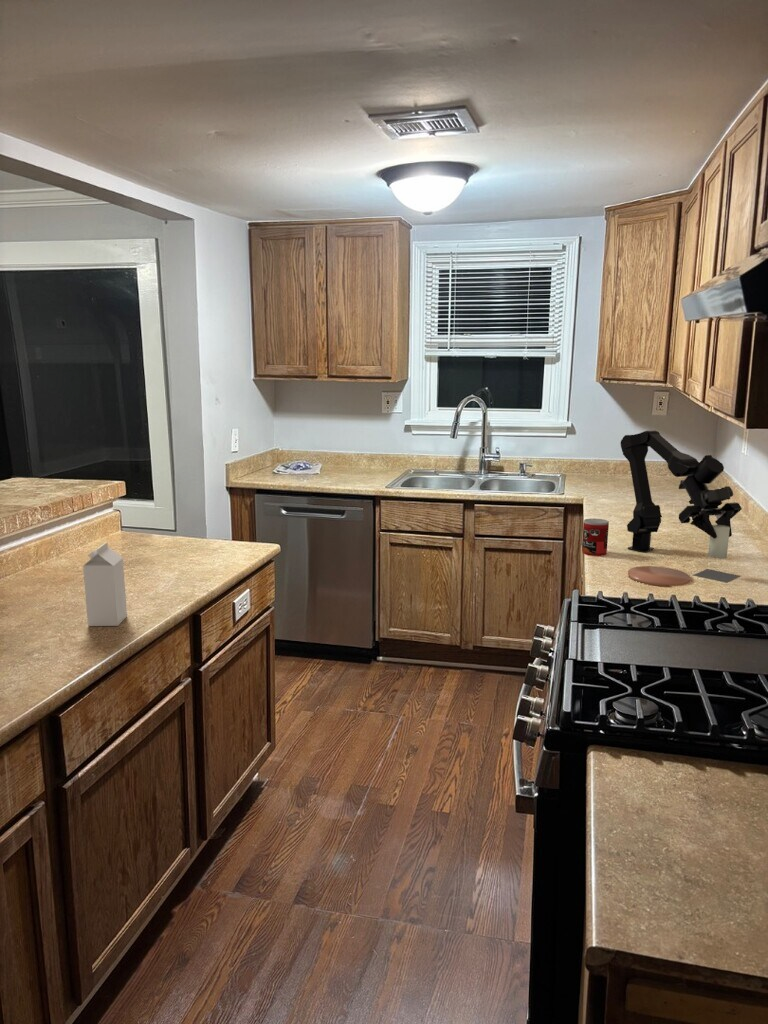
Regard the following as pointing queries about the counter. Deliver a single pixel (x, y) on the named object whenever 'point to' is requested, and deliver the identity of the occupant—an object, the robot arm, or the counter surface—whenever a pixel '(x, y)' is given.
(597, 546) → the canned food
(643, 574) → the terracotta plate
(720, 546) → the sage canister
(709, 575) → the rubber mat
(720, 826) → the counter surface
